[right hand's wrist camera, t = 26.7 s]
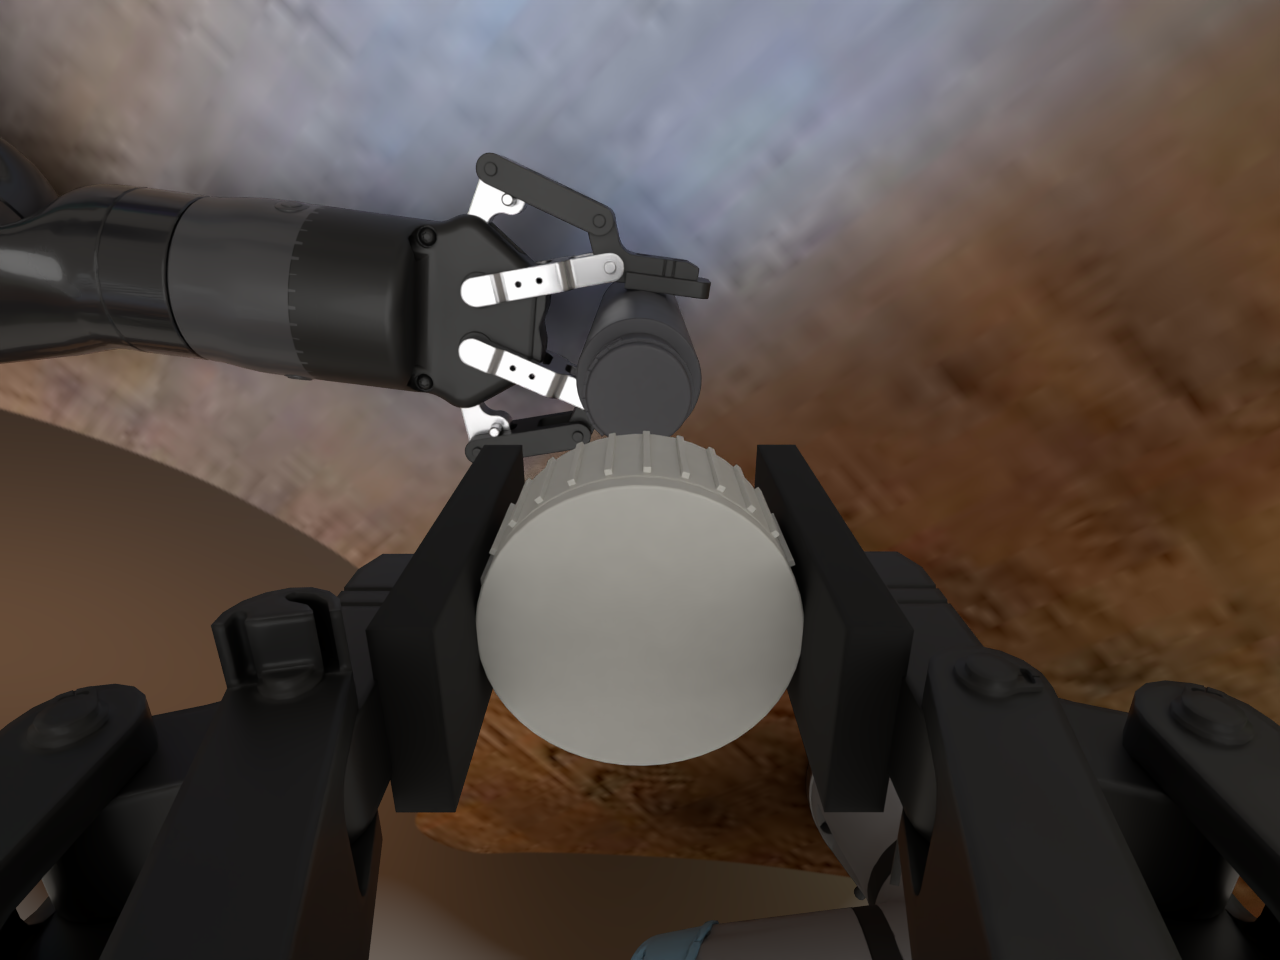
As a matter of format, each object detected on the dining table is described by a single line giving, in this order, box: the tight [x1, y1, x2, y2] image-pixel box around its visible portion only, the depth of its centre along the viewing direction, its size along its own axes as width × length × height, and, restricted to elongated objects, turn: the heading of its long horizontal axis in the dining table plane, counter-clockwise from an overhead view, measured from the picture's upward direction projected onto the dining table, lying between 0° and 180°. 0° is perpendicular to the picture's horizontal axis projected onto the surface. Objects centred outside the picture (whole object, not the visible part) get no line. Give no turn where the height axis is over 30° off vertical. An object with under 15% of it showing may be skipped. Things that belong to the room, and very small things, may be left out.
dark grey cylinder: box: [576, 282, 701, 437], centre depth 30 cm, size 4×4×17 cm
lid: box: [476, 431, 804, 766], centre depth 11 cm, size 5×5×2 cm
